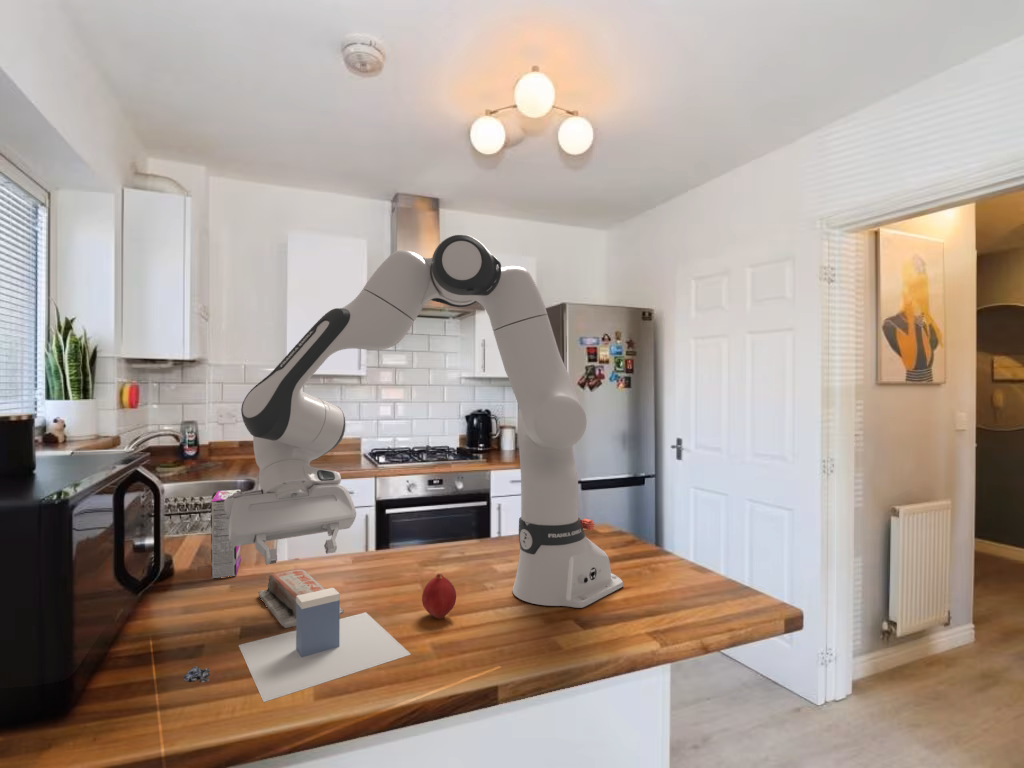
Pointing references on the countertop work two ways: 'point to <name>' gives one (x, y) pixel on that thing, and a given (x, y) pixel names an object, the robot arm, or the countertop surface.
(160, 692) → the countertop surface
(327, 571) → the countertop surface
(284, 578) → the packaged product
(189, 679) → the blueberries
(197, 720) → the countertop surface
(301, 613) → the card box
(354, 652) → the rubber mat
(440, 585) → the onion
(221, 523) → the candy bar box
